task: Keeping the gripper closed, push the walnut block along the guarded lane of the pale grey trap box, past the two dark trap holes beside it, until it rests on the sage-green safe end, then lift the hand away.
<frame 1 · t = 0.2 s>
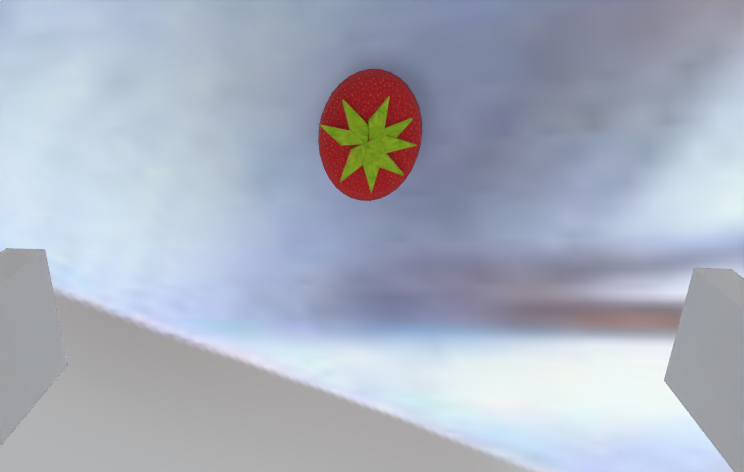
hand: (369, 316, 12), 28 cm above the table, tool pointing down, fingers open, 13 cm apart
strawberry: (370, 118, 38), on the table
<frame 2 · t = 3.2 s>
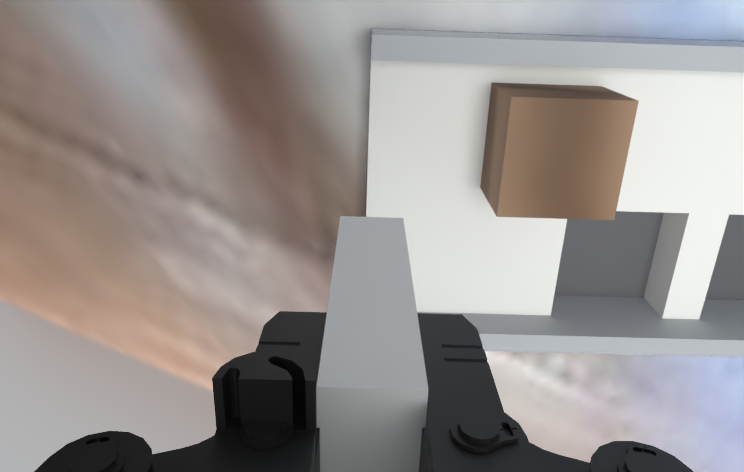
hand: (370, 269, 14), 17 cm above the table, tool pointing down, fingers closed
walnut block: (538, 138, 27), point 2 cm above the table, touching trap box
trap box: (649, 187, 31), on the table
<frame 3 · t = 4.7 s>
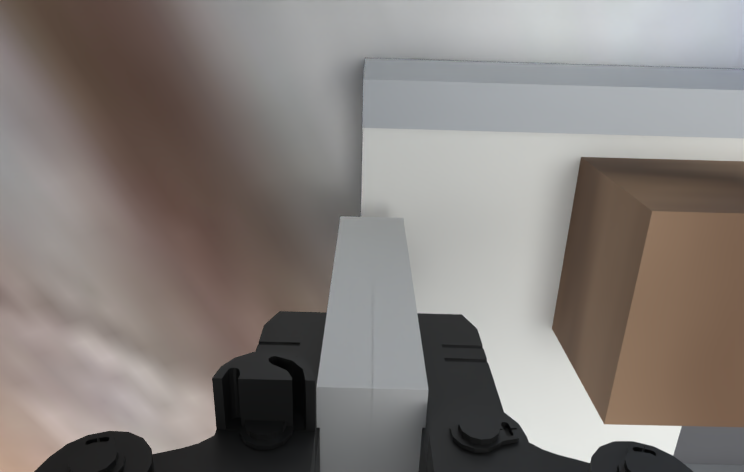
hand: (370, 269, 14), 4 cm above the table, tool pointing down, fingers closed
walnut block: (658, 250, 16), point 2 cm above the table, touching trap box
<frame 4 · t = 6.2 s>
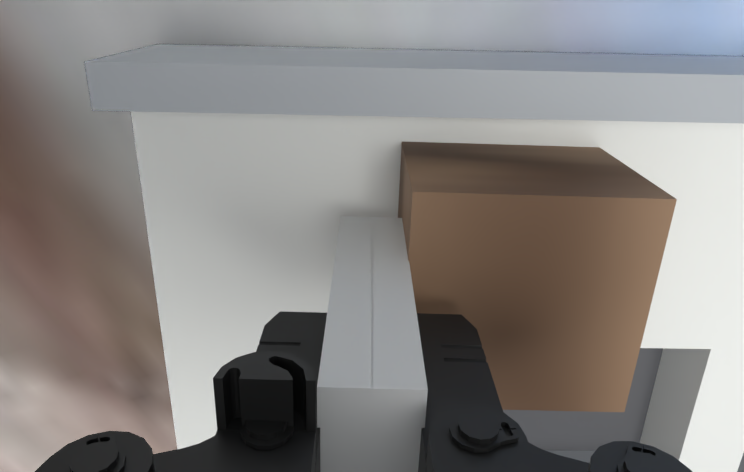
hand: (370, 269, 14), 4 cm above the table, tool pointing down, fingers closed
walnut block: (490, 235, 16), point 3 cm above the table, touching gripper
trap box: (643, 292, 19), on the table
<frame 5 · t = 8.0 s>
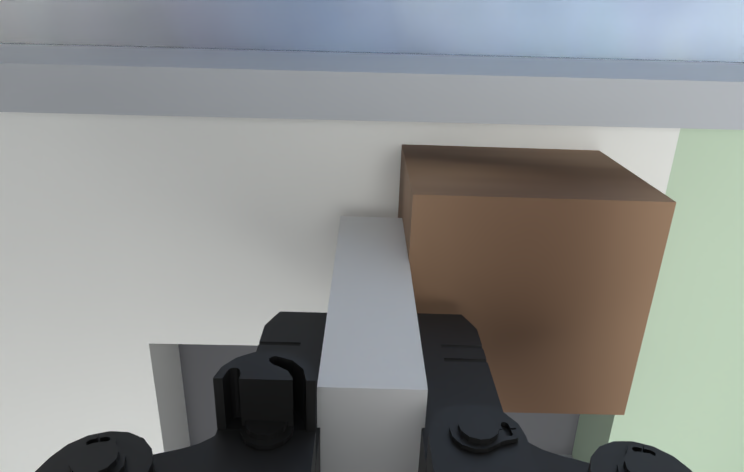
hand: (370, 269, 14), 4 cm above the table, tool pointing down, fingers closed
walnut block: (489, 238, 16), point 3 cm above the table, touching gripper, trap box
trap box: (327, 291, 19), on the table
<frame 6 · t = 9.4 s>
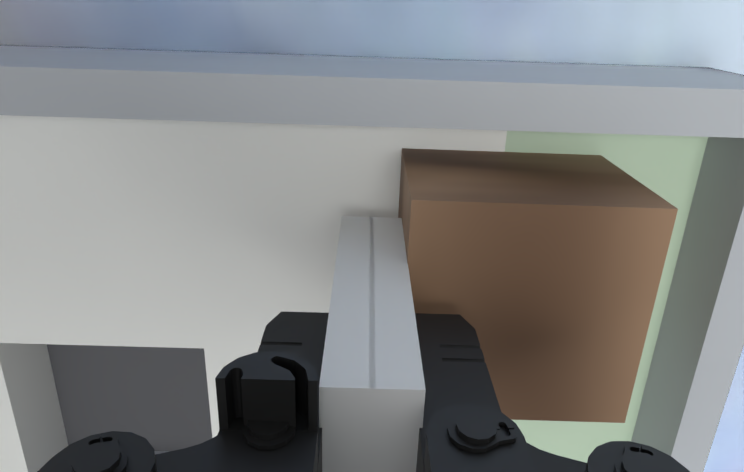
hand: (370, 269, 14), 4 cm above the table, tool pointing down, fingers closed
walnut block: (490, 243, 16), point 3 cm above the table, touching gripper
trap box: (192, 291, 19), on the table
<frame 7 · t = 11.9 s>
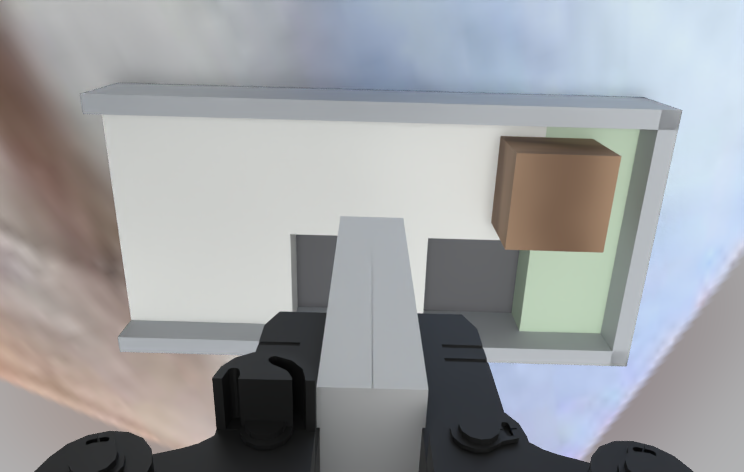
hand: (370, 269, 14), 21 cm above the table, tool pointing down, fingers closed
walnut block: (540, 181, 32), point 2 cm above the table, touching trap box
trap box: (376, 214, 36), on the table
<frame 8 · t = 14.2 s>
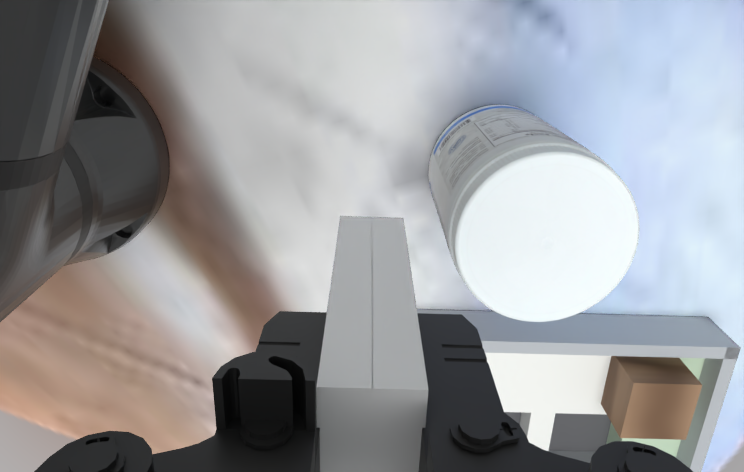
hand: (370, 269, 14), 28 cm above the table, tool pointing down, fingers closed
walnut block: (637, 379, 47), point 2 cm above the table, touching trap box
trap box: (513, 388, 50), on the table
supplement tub: (490, 165, 43), on the table
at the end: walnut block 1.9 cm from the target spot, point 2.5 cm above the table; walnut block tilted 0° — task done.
